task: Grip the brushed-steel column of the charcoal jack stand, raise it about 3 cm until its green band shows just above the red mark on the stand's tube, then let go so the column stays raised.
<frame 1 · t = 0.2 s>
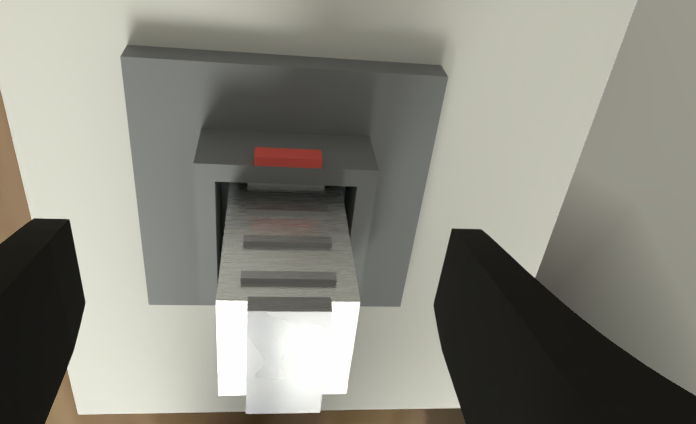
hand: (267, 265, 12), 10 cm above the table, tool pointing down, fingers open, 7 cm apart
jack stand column: (284, 272, 18), point 5 cm above the table, slide at 0.0 cm
jack stand base: (283, 181, 22), on the table
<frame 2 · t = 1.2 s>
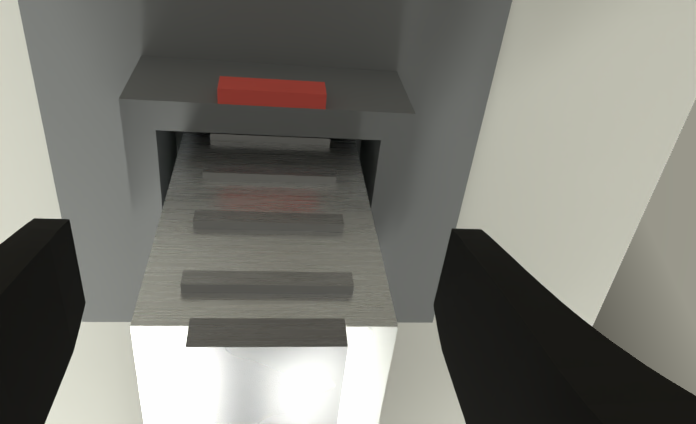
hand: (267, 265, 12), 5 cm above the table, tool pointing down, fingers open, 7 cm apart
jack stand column: (267, 275, 11), point 5 cm above the table, slide at 0.0 cm
jack stand base: (269, 145, 16), on the table
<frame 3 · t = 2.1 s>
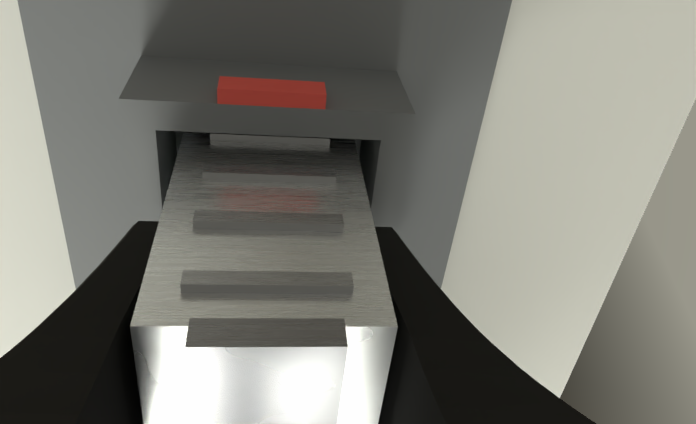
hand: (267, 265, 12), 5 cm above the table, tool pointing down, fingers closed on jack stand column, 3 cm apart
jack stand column: (267, 275, 11), point 5 cm above the table, slide at 0.0 cm, touching gripper
jack stand base: (269, 145, 16), on the table
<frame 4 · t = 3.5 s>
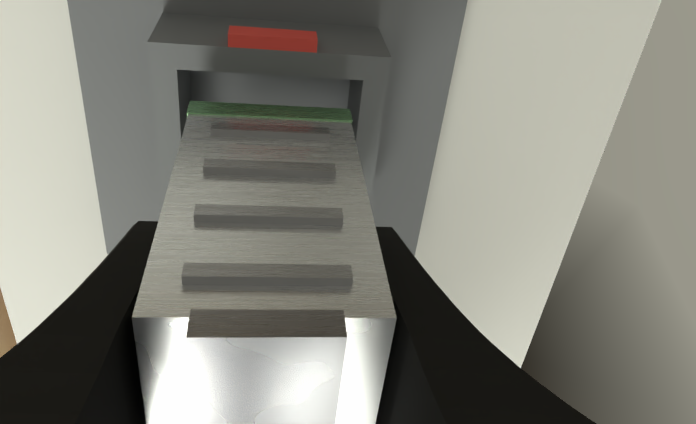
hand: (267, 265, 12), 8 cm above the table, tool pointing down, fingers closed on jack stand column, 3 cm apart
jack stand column: (267, 269, 12), point 8 cm above the table, slide at 2.8 cm, touching gripper
jack stand base: (270, 97, 18), on the table
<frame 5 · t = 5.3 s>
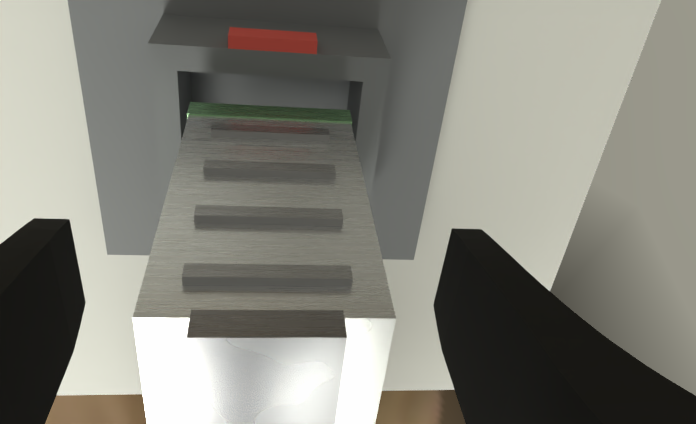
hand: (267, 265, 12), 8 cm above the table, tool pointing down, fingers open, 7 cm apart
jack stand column: (267, 269, 12), point 8 cm above the table, slide at 2.8 cm
jack stand base: (270, 98, 18), on the table
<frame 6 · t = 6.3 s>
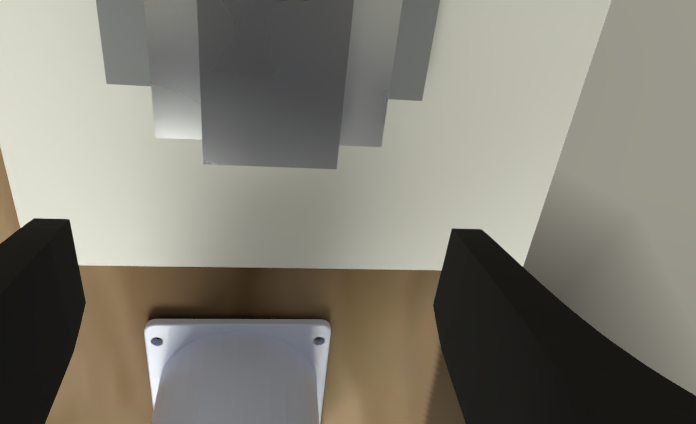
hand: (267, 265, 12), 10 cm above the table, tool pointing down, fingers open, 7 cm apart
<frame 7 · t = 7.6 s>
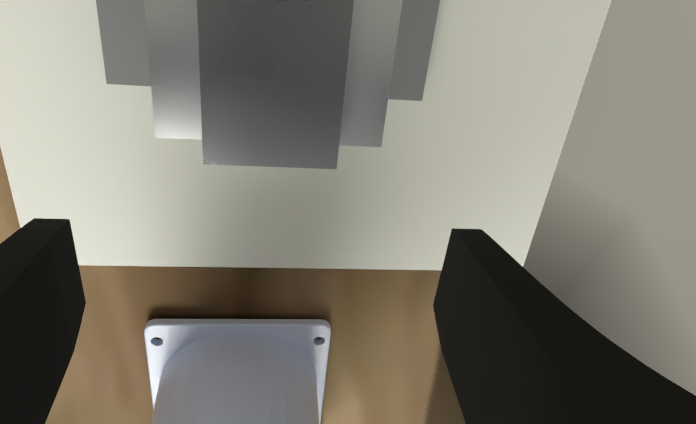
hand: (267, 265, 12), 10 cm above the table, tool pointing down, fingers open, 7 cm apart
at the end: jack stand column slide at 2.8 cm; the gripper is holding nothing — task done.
